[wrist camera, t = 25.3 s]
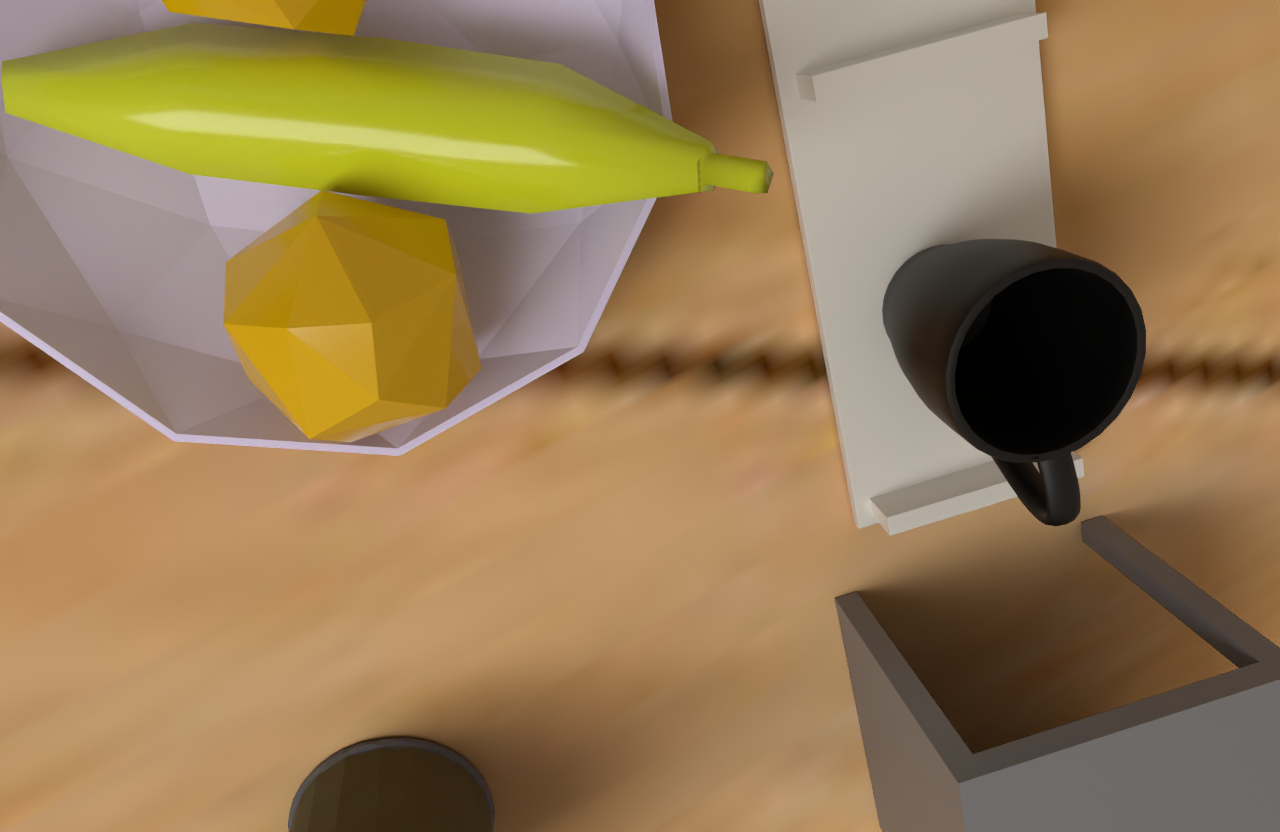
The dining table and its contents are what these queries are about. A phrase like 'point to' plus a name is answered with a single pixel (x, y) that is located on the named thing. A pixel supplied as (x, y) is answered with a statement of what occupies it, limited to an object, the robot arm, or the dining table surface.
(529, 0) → the fruit bowl
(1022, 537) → the dining table surface
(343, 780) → the canister
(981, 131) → the narrow white tray
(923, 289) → the mug
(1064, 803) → the box
